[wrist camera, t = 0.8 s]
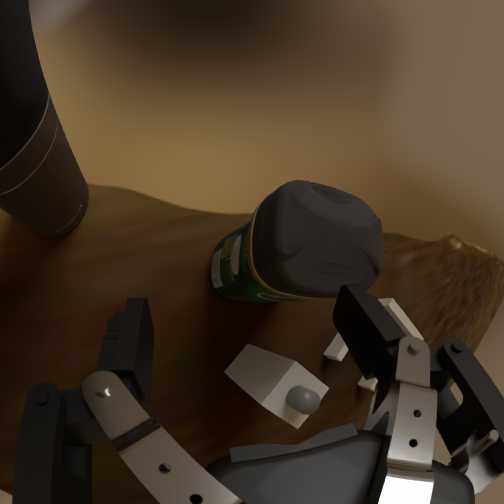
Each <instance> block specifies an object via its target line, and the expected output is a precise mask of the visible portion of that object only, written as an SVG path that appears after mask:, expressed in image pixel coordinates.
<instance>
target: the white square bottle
mask: <svg viewBox="0 0 504 504" xmlns="http://www.w3.org/2000/svg"><path fill="white" fill-rule="evenodd" d="M224 372H225V373H226V374H227V375H228V376H229V377H230V378H231V379H232V380H233V381H234V382H235V383H237V384H238V385H239V386H240V387H241V388H242V389H243V390H244V391H246V392H247V393H248V394H249V395H250V396H251V397H253V398H254V399H255V400H256V401H257V402H258V403H260V404H261V405H262V406H264V407H265V408H267V409H268V410H270V411H271V412H273V413H274V414H276V415H277V416H279V417H280V418H282V419H283V420H285V421H286V422H288V423H289V424H291V425H293V426H294V427H296V428H297V429H298V428H299V427H300V426H301V425H302V423H303V422H304V421H305V420H306V418H307V417H308V416H309V415H310V414H312V413H314V412H315V411H316V410H317V409H318V407H319V405H320V400H321V399H322V397H323V396H324V395H325V393H326V392H327V390H328V389H329V388H328V387H327V386H326V385H324V384H323V383H322V382H321V381H319V380H318V379H317V378H316V377H315V376H313V375H312V374H311V373H310V372H308V371H307V370H306V369H305V368H303V367H302V366H301V365H300V364H299V363H297V362H296V361H294V360H291V359H289V358H286V357H283V356H280V355H277V354H275V353H272V352H269V351H267V350H264V349H261V348H259V347H256V346H253V345H251V344H247V345H246V346H245V348H244V349H243V350H242V351H241V352H240V354H239V355H238V356H237V357H236V358H235V359H234V361H233V362H232V363H231V364H230V365H229V367H228V368H227V369H226V370H225V371H224Z"/></svg>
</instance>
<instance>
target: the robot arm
mask: <svg viewBox="0 0 504 504" xmlns="http://www.w3.org/2000/svg"><path fill="white" fill-rule="evenodd" d="M88 198H89V193H88V187H87V183H86V181H85V179H84V177H83V174H82V172H81V170H80V168H79V165H78V163H77V161H76V159H75V157H74V154H73V152H72V150H71V148H70V145H69V143H68V140H67V138H66V135H65V133H64V131H63V128H62V125H61V123H60V120H59V118H58V115H57V113H56V110H55V108H54V105H53V102H52V99H51V96H50V93H49V90H48V88H47V85H46V82H45V79H44V76H43V72H42V69H41V65H40V61H39V57H38V53H37V49H36V44H35V40H34V35H33V31H32V26H31V19H30V11H29V2H28V0H0V208H1V209H2V210H4V211H5V212H6V213H8V214H9V215H10V216H12V217H13V218H15V219H16V220H17V221H19V222H20V223H22V224H23V225H24V226H26V227H27V228H29V229H30V230H31V231H33V232H34V233H36V234H38V235H40V236H42V237H46V238H56V237H60V236H63V235H65V234H66V233H68V232H70V231H71V230H72V229H73V228H74V227H76V225H77V224H78V223H79V222H80V220H81V219H82V217H83V215H84V213H85V211H86V208H87V205H88ZM389 314H390V313H389V312H388V311H387V310H386V309H385V307H384V306H383V305H382V304H381V302H380V301H379V300H378V299H377V298H375V297H374V296H372V295H371V294H369V293H368V294H367V292H366V291H365V290H364V289H363V287H362V286H361V285H360V284H358V283H357V284H348V285H342V286H341V287H340V290H339V294H338V297H337V301H336V304H335V308H334V311H333V322H334V325H335V327H336V329H337V330H338V332H339V334H340V336H341V337H342V339H343V341H344V343H345V344H346V346H347V348H348V350H349V351H350V353H351V355H352V357H353V358H354V360H355V362H356V364H357V365H358V367H359V369H360V371H361V372H362V374H363V376H364V378H365V380H370V379H373V378H376V379H377V380H378V382H377V383H376V385H375V389H374V394H373V398H372V403H371V407H370V411H369V415H368V419H367V421H366V424H365V426H364V427H363V429H362V430H358V429H356V428H355V426H354V424H353V423H350V424H347V425H343V426H340V427H336V428H333V429H329V430H326V431H324V432H322V433H320V434H318V435H316V436H314V437H312V438H310V439H308V440H306V441H304V442H302V443H300V444H297V445H278V444H257V445H250V446H242V447H233V448H229V455H228V456H225V457H222V458H220V459H218V460H216V461H214V462H212V463H211V464H209V465H208V466H206V467H205V468H202V467H201V466H200V465H199V464H198V463H197V462H196V461H195V460H194V459H193V458H192V457H191V456H190V455H189V454H188V453H187V452H186V451H185V450H184V449H183V448H182V447H181V446H180V445H179V444H178V443H177V442H176V441H175V440H174V439H173V438H172V437H171V436H170V435H169V434H168V433H167V432H166V431H165V430H164V428H163V427H162V426H161V425H160V424H159V423H158V422H156V421H153V420H152V419H151V418H150V417H149V415H148V414H147V413H146V412H145V411H144V410H143V409H150V393H151V375H152V361H153V348H154V329H153V324H152V319H151V314H150V310H149V305H148V300H147V298H146V297H144V298H128V299H127V302H126V306H125V310H124V311H116V312H115V313H114V314H113V315H112V317H111V318H110V319H109V320H108V324H107V327H106V332H105V335H104V340H103V342H102V346H101V350H100V354H99V358H98V362H97V366H96V371H95V373H93V374H91V375H90V376H89V377H87V378H86V380H85V381H84V383H83V385H82V386H80V387H77V388H72V389H67V390H63V391H59V390H58V388H57V387H56V386H55V385H53V384H51V383H47V382H44V383H39V384H37V385H35V386H34V387H33V388H32V389H31V390H30V391H29V393H28V396H27V399H26V403H25V408H24V412H23V417H22V421H21V426H20V432H19V438H18V444H17V450H16V458H15V467H14V478H13V496H12V504H93V503H92V443H96V442H101V441H105V440H111V441H112V443H113V445H114V447H115V449H116V450H117V452H118V453H119V455H120V456H121V457H122V459H123V460H124V461H125V463H126V464H127V465H128V467H129V468H130V469H131V470H132V472H133V473H134V474H135V475H136V476H137V478H138V479H139V480H140V481H141V482H142V484H143V485H144V486H145V487H146V488H147V489H148V490H149V492H150V493H151V494H152V495H153V496H154V497H155V498H156V499H157V500H158V501H159V502H160V503H161V504H475V495H476V494H478V493H479V492H480V491H481V490H482V489H484V488H485V487H486V486H487V485H489V484H490V483H491V482H492V481H493V480H495V479H497V478H498V477H500V476H501V475H503V474H504V398H503V396H502V394H501V393H500V392H499V390H498V388H497V387H496V386H495V384H494V383H493V381H492V380H491V378H490V377H489V375H488V374H487V373H486V371H485V370H484V368H483V367H482V366H481V364H480V363H479V361H478V360H477V359H476V357H475V356H474V355H473V353H472V352H471V351H470V349H469V348H468V347H467V345H466V344H465V343H464V342H463V341H461V340H460V339H458V338H455V337H448V338H446V339H445V340H444V342H443V344H442V345H441V347H428V346H427V344H426V343H425V342H424V341H423V340H421V339H420V338H417V337H414V336H407V335H406V334H405V333H404V331H403V330H402V329H401V327H400V326H399V325H398V324H397V322H396V321H395V320H394V319H393V317H392V316H391V315H389ZM452 378H453V380H454V381H455V383H456V384H457V386H458V387H459V389H460V391H461V392H462V394H463V402H462V404H461V405H459V403H458V402H457V400H456V399H455V397H454V395H453V394H452V392H451V390H450V389H449V387H448V386H447V385H448V384H449V382H450V381H451V380H452ZM436 427H437V429H438V431H439V433H440V435H441V437H442V439H443V441H444V443H445V445H446V447H447V449H448V451H449V453H450V455H451V462H449V463H448V465H447V466H446V465H444V464H442V463H439V462H437V461H435V460H433V459H432V457H433V448H434V440H435V430H436Z"/></svg>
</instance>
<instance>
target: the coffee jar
mask: <svg viewBox="0 0 504 504" xmlns="http://www.w3.org/2000/svg"><path fill="white" fill-rule="evenodd" d="M382 262H383V237H382V226H381V220H380V219H379V217H377V216H376V214H375V213H374V211H373V210H372V209H371V208H370V207H369V206H368V205H367V204H366V203H365V202H364V201H362V200H361V199H359V198H358V197H356V196H354V195H352V194H349V193H346V192H344V191H341V190H338V189H335V188H332V187H329V186H325V185H322V184H318V183H313V182H309V181H303V180H295V181H291V182H288V183H286V184H284V185H282V186H280V187H279V188H278V189H277V190H276V191H274V192H273V193H272V194H270V195H268V196H267V197H265V198H264V199H263V200H262V201H261V202H260V203H259V205H258V206H257V208H256V210H255V211H254V214H253V216H252V219H251V221H250V222H248V223H247V224H245V225H244V226H242V227H241V228H239V229H237V230H236V231H234V232H232V233H231V234H229V235H227V236H226V237H225V238H223V239H222V240H221V241H220V242H219V243H218V245H217V246H216V249H215V251H214V255H213V260H212V269H211V275H212V282H213V285H214V288H215V289H216V291H217V292H218V293H219V294H221V295H222V296H224V297H226V298H229V299H233V300H237V301H242V302H251V303H272V302H284V301H300V300H317V299H331V298H337V297H338V294H339V290H340V287H341V286H342V285H348V284H357V283H358V284H360V285H361V286H362V287H363V289H364V290H367V289H368V288H369V287H370V286H371V285H372V284H373V283H374V282H375V280H376V279H377V277H378V275H379V274H380V272H381V270H382Z"/></svg>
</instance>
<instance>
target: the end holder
mask: <svg viewBox="0 0 504 504" xmlns="http://www.w3.org/2000/svg"><path fill="white" fill-rule="evenodd" d="M378 300H379V301H380V302H381V304H382V305H383V306H384V307H385V309H386V310H387V311H388V312H389V313H390V314H389V315H391V316H392V317H393V319H394V320H395V321H396V322H397V324H398V325H399V326H400V327H401V329H402V330H403V331H404V333H405V334H406V335H407V336H414V337H417V338H420V339H421V340H423V337H422V336H421V335H420V333H419V332H418V330H417V329H416V328H415V326H414V325H413V324H412V323H411V321H410V320H409V319H408V317H407V316H406V315H405V313H404V312H403V311H402V310H401V308H400V307H399V306H398V304H397V303H396V302H395V301H394V299H393V298H388V299H378ZM347 351H348V348H347V346H346V344H345V343H344V341H343V339H342V337H341V336H340V334H339V332H338V333H337V335H336V336H335V338H334V339H333V341H332V342H331V344H330V345H329V347H328V348H327V350H326V351H325V353H324V355H325V356H326V357H327V358H329V359H333V360H338V361H341V360H342V359H343V357H344V356H345V354H346V353H347ZM377 382H378V380H377V379H376V378H373V379H370V380H365V378H364V376H362V378H361V379H360V381H359V383H358V385H359V386H360V387H362V388H366V389H369V390H372V391H374V389H375V385H376V383H377Z"/></svg>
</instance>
